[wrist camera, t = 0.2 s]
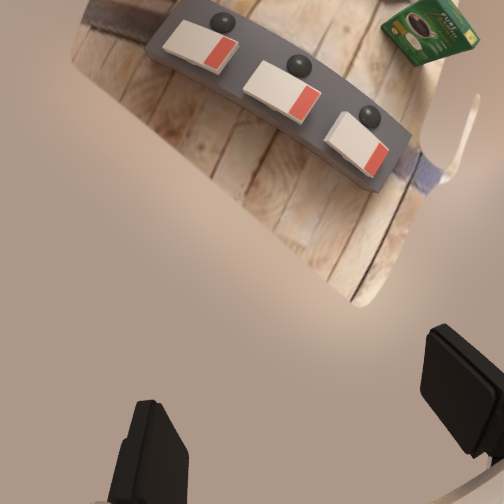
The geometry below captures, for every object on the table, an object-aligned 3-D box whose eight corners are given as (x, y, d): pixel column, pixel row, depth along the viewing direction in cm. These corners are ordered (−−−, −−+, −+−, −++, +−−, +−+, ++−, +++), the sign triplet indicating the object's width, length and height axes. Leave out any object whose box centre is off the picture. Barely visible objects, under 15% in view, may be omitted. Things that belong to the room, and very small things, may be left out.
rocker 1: (187, 26, 28) (183, 19, 26) (240, 48, 28) (238, 41, 26) (167, 53, 29) (161, 46, 27) (219, 77, 29) (216, 70, 27)
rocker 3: (339, 111, 31) (348, 111, 29) (380, 148, 34) (390, 150, 32) (320, 140, 32) (329, 141, 30) (364, 175, 35) (373, 178, 33)
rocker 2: (263, 66, 30) (263, 59, 28) (319, 97, 31) (321, 92, 29) (244, 93, 31) (242, 88, 29) (300, 126, 31) (302, 122, 29)
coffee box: (425, 60, 34) (483, 40, 22) (415, 69, 35) (474, 49, 22) (389, 18, 32) (440, -16, 20) (378, 26, 33) (429, -9, 20)
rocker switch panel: (191, 6, 30) (188, -9, 26) (396, 136, 37) (413, 135, 33) (150, 58, 32) (143, 47, 28) (364, 190, 39) (379, 193, 35)
